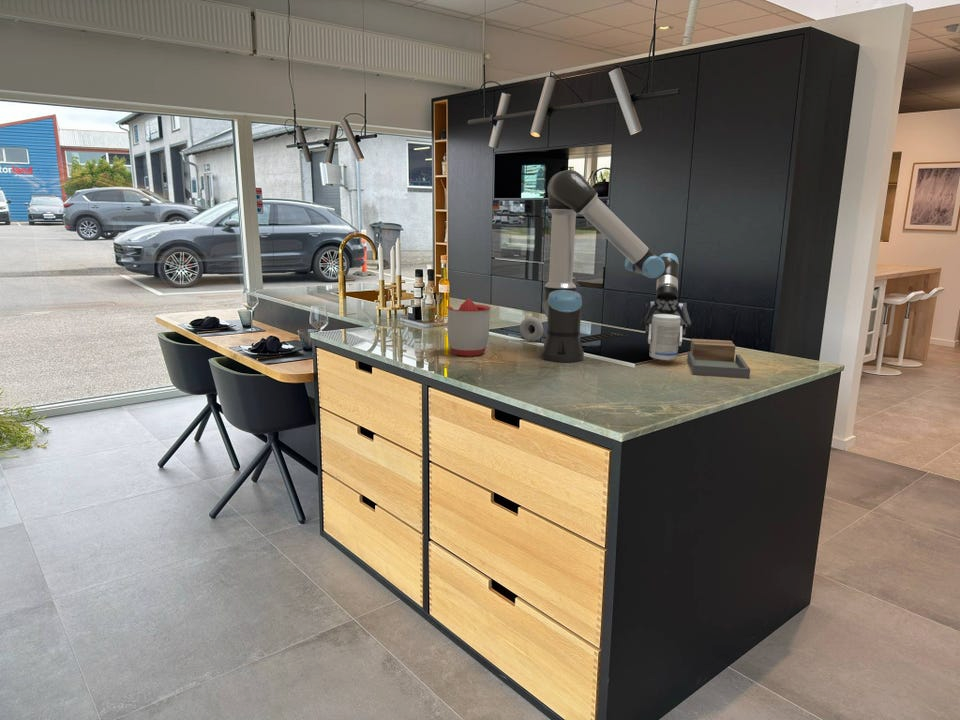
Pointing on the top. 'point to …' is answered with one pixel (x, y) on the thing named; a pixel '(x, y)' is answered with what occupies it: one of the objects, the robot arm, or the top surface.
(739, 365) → the grey shallow rectangular tray
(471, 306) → the citrus juicer
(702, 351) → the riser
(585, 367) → the top surface
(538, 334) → the donut
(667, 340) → the supplement tub
